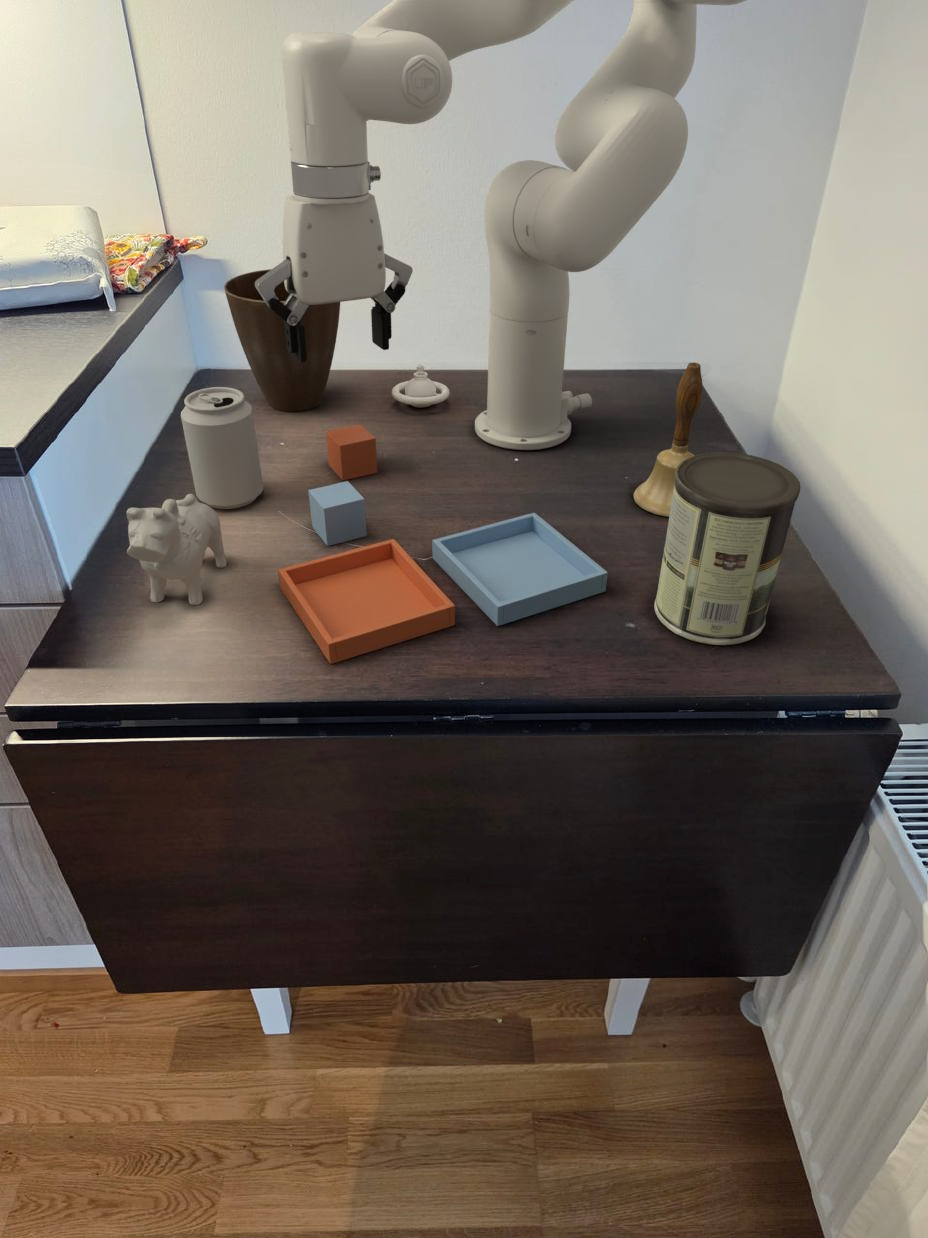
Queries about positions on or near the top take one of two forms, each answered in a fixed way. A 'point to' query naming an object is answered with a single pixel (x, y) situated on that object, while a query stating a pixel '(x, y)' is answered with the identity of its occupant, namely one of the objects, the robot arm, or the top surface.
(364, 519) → the blue block
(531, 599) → the blue tray
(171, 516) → the dog figurine
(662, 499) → the hand bell
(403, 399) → the ring around a ball
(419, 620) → the terracotta tray
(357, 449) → the terracotta block
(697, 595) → the coffee can
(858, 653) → the top surface
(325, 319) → the flower pot
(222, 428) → the can
